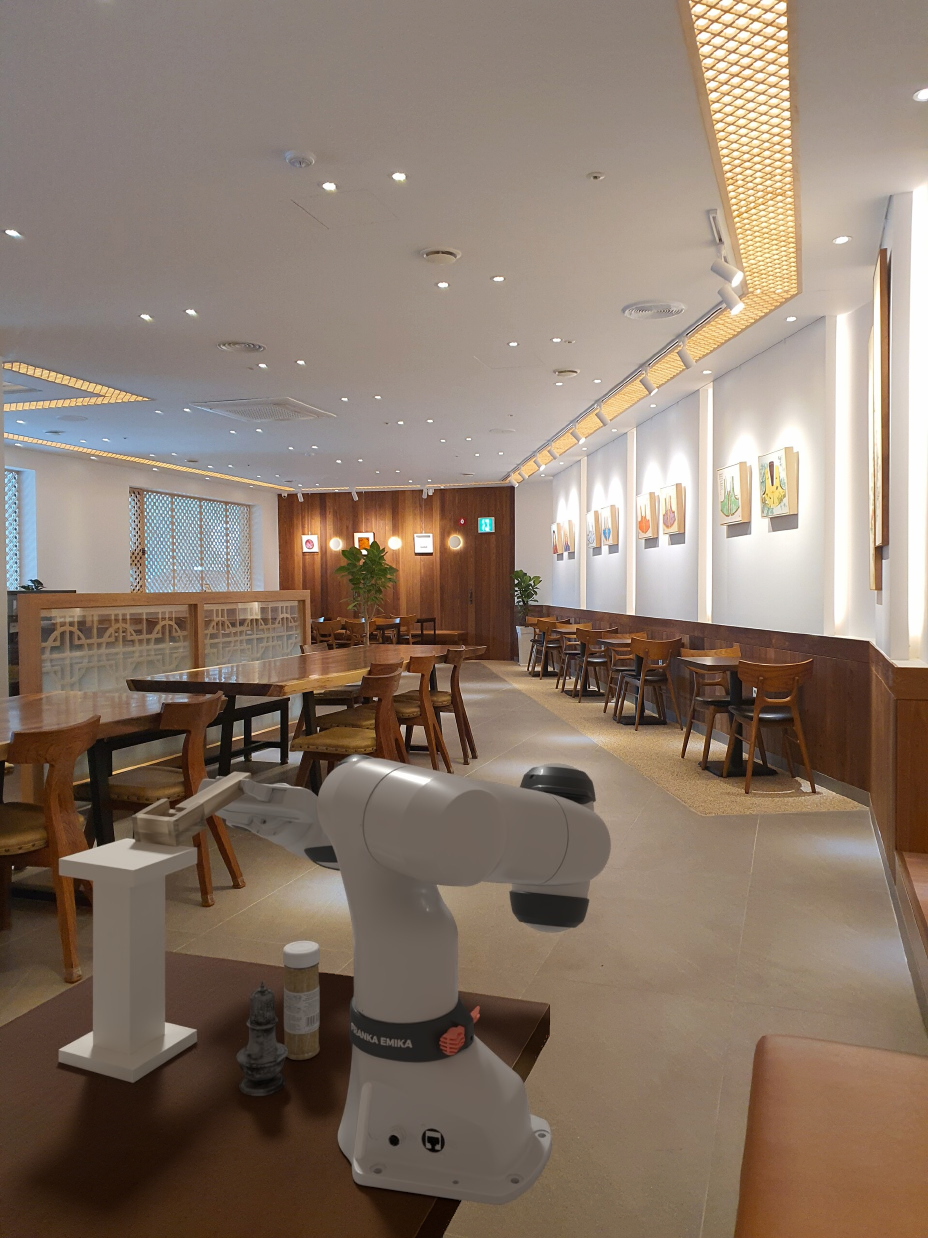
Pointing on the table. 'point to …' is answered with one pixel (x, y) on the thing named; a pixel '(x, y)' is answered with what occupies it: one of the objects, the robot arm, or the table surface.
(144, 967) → the pedestal shelf
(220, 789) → the scoop
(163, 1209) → the table surface
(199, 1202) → the table surface
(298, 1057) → the sprinkles bottle
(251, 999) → the dark tall tiered piece
